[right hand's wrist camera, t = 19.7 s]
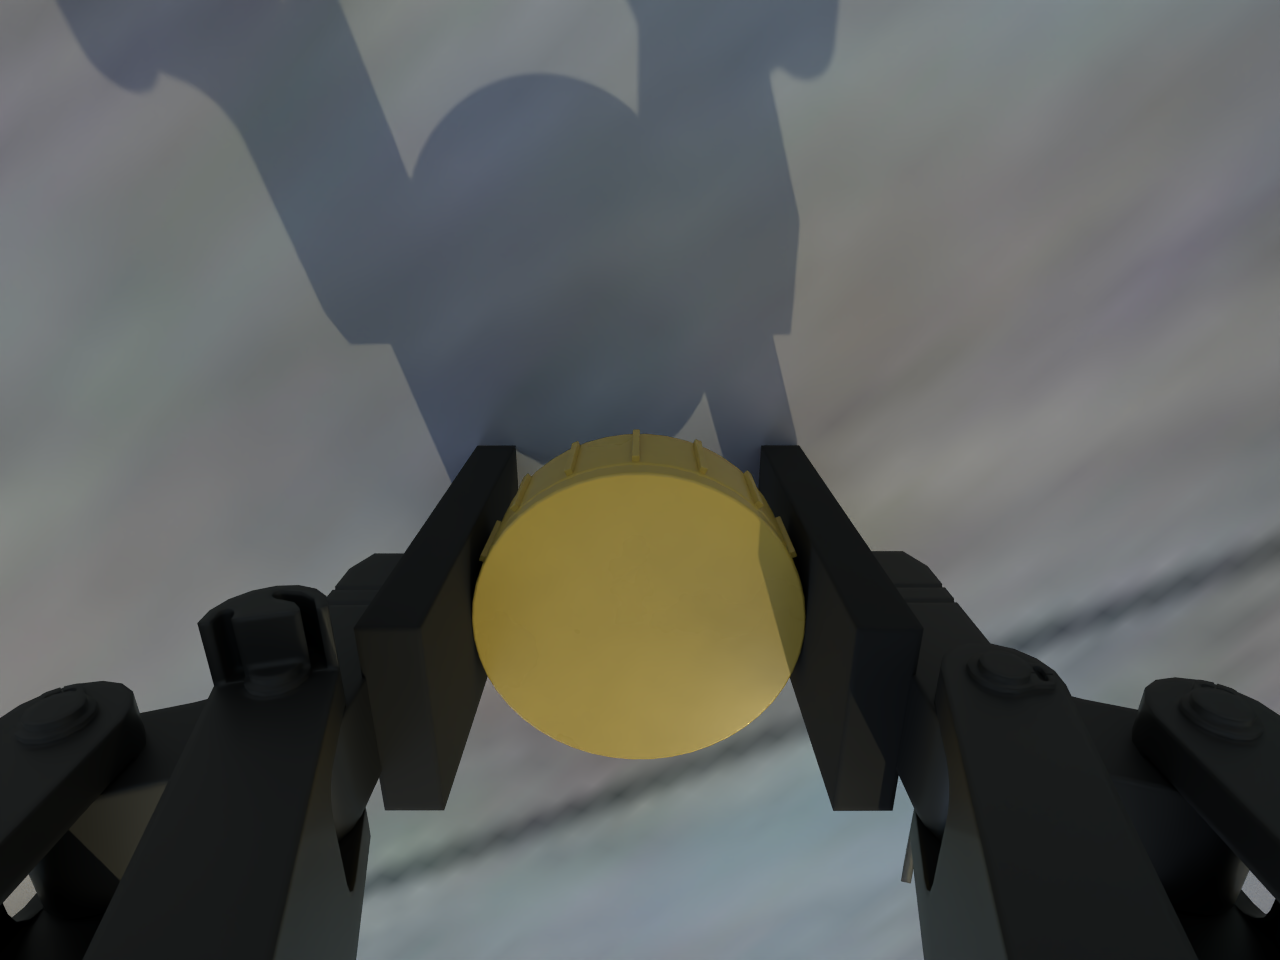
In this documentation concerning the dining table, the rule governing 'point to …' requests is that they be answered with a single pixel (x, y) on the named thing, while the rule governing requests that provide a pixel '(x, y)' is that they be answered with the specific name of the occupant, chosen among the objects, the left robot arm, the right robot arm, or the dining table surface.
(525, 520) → the lid
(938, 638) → the right robot arm
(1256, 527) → the dining table surface
